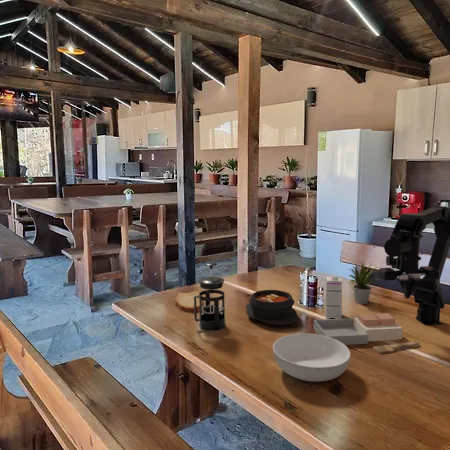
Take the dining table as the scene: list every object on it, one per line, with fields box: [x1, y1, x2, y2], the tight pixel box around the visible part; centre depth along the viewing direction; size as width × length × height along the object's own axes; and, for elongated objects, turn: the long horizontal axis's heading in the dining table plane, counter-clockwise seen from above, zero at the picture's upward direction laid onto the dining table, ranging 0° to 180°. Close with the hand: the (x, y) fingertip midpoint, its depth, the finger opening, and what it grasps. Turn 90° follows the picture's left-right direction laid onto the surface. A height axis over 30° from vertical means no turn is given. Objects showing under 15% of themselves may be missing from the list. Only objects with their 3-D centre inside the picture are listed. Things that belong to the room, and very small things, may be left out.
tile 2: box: [373, 312, 396, 325], centre depth 139 cm, size 5×5×2 cm
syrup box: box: [325, 276, 343, 319], centre depth 154 cm, size 6×6×14 cm
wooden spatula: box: [372, 340, 420, 355], centre depth 128 cm, size 15×4×1 cm, turn 105°
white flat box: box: [352, 316, 403, 342], centre depth 139 cm, size 12×11×4 cm
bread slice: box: [174, 290, 204, 313], centre depth 172 cm, size 18×18×4 cm
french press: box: [194, 262, 227, 332], centre depth 146 cm, size 12×9×23 cm
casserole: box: [245, 289, 301, 326], centre depth 155 cm, size 25×19×8 cm
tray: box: [313, 317, 369, 346], centre depth 138 cm, size 14×14×3 cm
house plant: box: [346, 263, 380, 305], centre depth 168 cm, size 14×14×16 cm
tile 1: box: [357, 313, 379, 326], centre depth 138 cm, size 5×5×2 cm
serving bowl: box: [272, 333, 352, 382], centre depth 115 cm, size 21×21×7 cm
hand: (406, 298), depth 138 cm, fingers closed
